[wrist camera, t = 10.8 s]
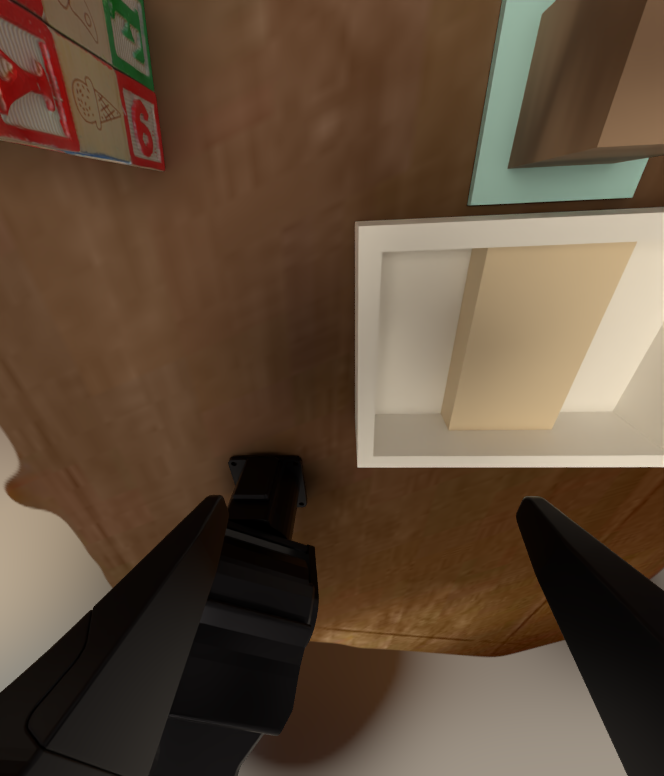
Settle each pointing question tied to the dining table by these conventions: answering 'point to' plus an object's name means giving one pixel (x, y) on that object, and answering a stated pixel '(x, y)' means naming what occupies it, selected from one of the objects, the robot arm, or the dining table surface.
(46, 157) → the dining table surface
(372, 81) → the dining table surface
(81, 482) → the dining table surface
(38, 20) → the stack of blocks
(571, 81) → the walnut block
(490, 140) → the teal pad
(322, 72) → the dining table surface
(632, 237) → the crate
